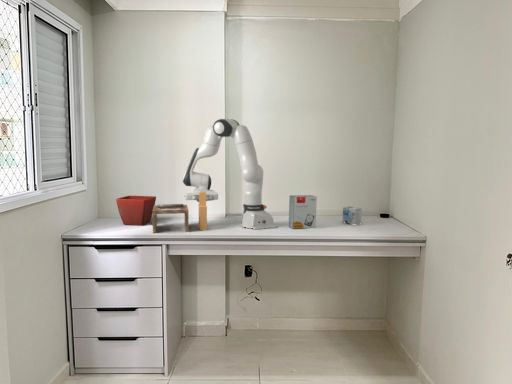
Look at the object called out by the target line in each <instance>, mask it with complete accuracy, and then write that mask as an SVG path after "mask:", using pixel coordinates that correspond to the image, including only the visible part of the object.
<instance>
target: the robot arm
mask: <svg viewBox="0 0 512 384" xmlns="http://www.w3.org/2000/svg"><path fill="white" fill-rule="evenodd" d="M229 137H230V138H231V139H232V140H233V143H234V146H235V150H236V152H237V155H238V160H239V165H240V171H241V176H242V179H243V180H244V181H245V184H244V191H243V205H242V213H243V216H242V221H241V225H240V227H241V228H244V227H246V228H245V229H251V228H253V229H252V230H262V229H264V228H265V229H274V228H277V227H278V225H277V223H275V222H274V217H273V216H272V215H271V214H270V213H269V212H268V211H266V210H265V209H267V207H268V206H267V205H265V204H263V203H262V199H263V197H262V195H263V185H264V183H263V182H264V181H263V180H264V169H263V167H262V166H261V165H260V164H259V161H258V156H257V150H256V147H255V145H254V141H253V138H252V135H251V132H250V130H249V129H248V127H247V126H246V125H244V124H240V123H239V122H238V121H237V120H235V119H233V118H232V119H230V118H220V119H217V120H216V121H214V123H213V124H212V125H210V126H208V127H207V128H206V131H205V133H204V136H203V139H202V143H201V145H200V146H199V147H197V148H196V149H195V150H194V152H193V153H192V156H191V159H190V161H189V162H188V166H187V168H186V170H185V172H184V173H183V176H182V183H183V185H185V186H186V187H194V189H193V191H192V192H187V193H185V195H184V197H185V201H196V202H198V203H199V192H206V202H209V201H216V200H219V193H218V192H217V191H215V190H213V189H211V186H212V178H211V176H210V175H209V174H206V173H201V172H197V171H194V170H195V167H196V165H197V162H198V161H199V160H200V159H204V158H206V159H207V158H211V157H214V156H216V155H217V154H218V152H219V149H220V146H221V141H222V138H229ZM265 229H264V230H265Z"/></svg>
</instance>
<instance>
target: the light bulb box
mask: <svg viewBox="0 0 512 384" xmlns="http://www.w3.org/2000/svg"><path fill="white" fill-rule="evenodd" d="M362 211H363V209H362V207H355V206H350V205H348V206H343V207H342V221H341V223H342V222H345V223H344V224H346V223H350V224H349V225H351V224H360V223H361V224H362V214H363V213H362ZM361 224H360V225H361Z"/></svg>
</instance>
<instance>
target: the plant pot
mask: <svg viewBox="0 0 512 384" xmlns="http://www.w3.org/2000/svg"><path fill="white" fill-rule="evenodd" d="M115 200H116V206H117V210H118V213H119V216H120V219H121V221H122V224H123V225H128V226H129V225H130V226H144V225H146V224H148V223H150V222H151V219H152V218H153V207H154V205H156V200H157V196H155V195H153V196H152V195H126V196H122V197H118V198H116V199H115Z"/></svg>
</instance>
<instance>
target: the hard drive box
mask: <svg viewBox="0 0 512 384" xmlns="http://www.w3.org/2000/svg"><path fill="white" fill-rule="evenodd" d="M317 199H318V197H317V196H315V195H313V194H312V195H311V194H309V195H307V194H304V195H303V194H302V195H301V194H299V195H298V194H297V195H295V194H294V195H293V194H292V195H289V205H288V227H289V228H291V229H293V230H294V229H295V230H296V229H297V230H298V229H316V219H317V204H318V203H317Z"/></svg>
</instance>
